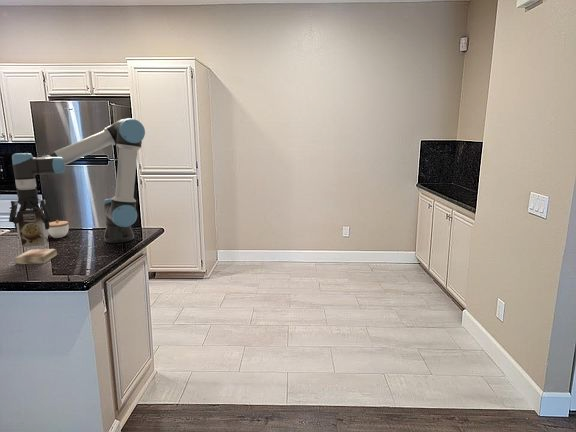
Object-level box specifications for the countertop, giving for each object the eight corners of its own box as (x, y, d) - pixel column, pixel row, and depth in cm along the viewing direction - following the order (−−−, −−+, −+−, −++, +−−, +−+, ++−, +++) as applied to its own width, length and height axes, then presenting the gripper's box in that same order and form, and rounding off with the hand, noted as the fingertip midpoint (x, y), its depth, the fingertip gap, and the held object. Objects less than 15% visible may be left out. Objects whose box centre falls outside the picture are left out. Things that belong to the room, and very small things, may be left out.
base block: (57, 254, 184) (56, 248, 183) (44, 263, 172) (43, 256, 172) (30, 255, 183) (29, 249, 182) (15, 264, 171) (14, 257, 171)
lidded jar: (51, 234, 220) (49, 218, 218) (72, 233, 223) (70, 217, 221) (45, 239, 210) (42, 222, 208) (67, 238, 213) (64, 221, 211)
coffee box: (21, 247, 171) (16, 212, 168) (24, 243, 177) (19, 209, 174) (45, 245, 175) (40, 210, 171) (47, 241, 181) (42, 208, 177)
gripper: (-7, 190, 166) (1, 239, 170) (49, 189, 168) (56, 238, 173) (4, 187, 173) (12, 234, 178) (57, 186, 175) (63, 233, 180)
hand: (33, 236), depth 175 cm, fingers closed on coffee box, 10 cm apart
